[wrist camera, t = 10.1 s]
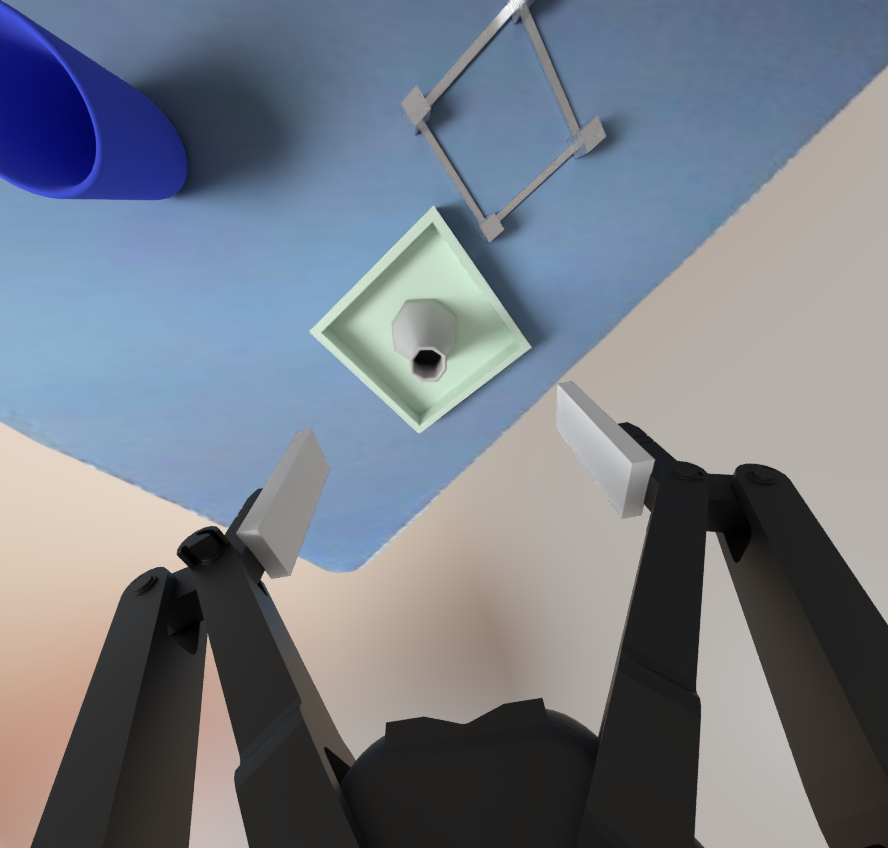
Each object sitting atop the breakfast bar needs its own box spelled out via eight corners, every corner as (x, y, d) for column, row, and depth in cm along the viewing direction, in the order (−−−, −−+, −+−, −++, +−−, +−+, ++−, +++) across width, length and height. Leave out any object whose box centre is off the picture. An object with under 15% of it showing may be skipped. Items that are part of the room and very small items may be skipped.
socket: (521, -24, 22) (532, -52, 20) (591, 144, 27) (606, 136, 25) (401, 114, 25) (400, 103, 23) (484, 242, 31) (489, 242, 28)
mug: (0, 48, 22) (-263, -73, 13) (190, 91, 24) (65, 10, 15) (54, 190, 26) (-122, 167, 18) (213, 218, 28) (123, 210, 19)
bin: (431, 208, 29) (433, 205, 26) (523, 339, 36) (531, 347, 33) (317, 324, 33) (309, 331, 31) (418, 421, 40) (418, 433, 38)
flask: (399, 287, 32) (394, 306, 23) (466, 309, 33) (485, 334, 25) (384, 355, 35) (375, 393, 26) (446, 371, 36) (456, 412, 28)
